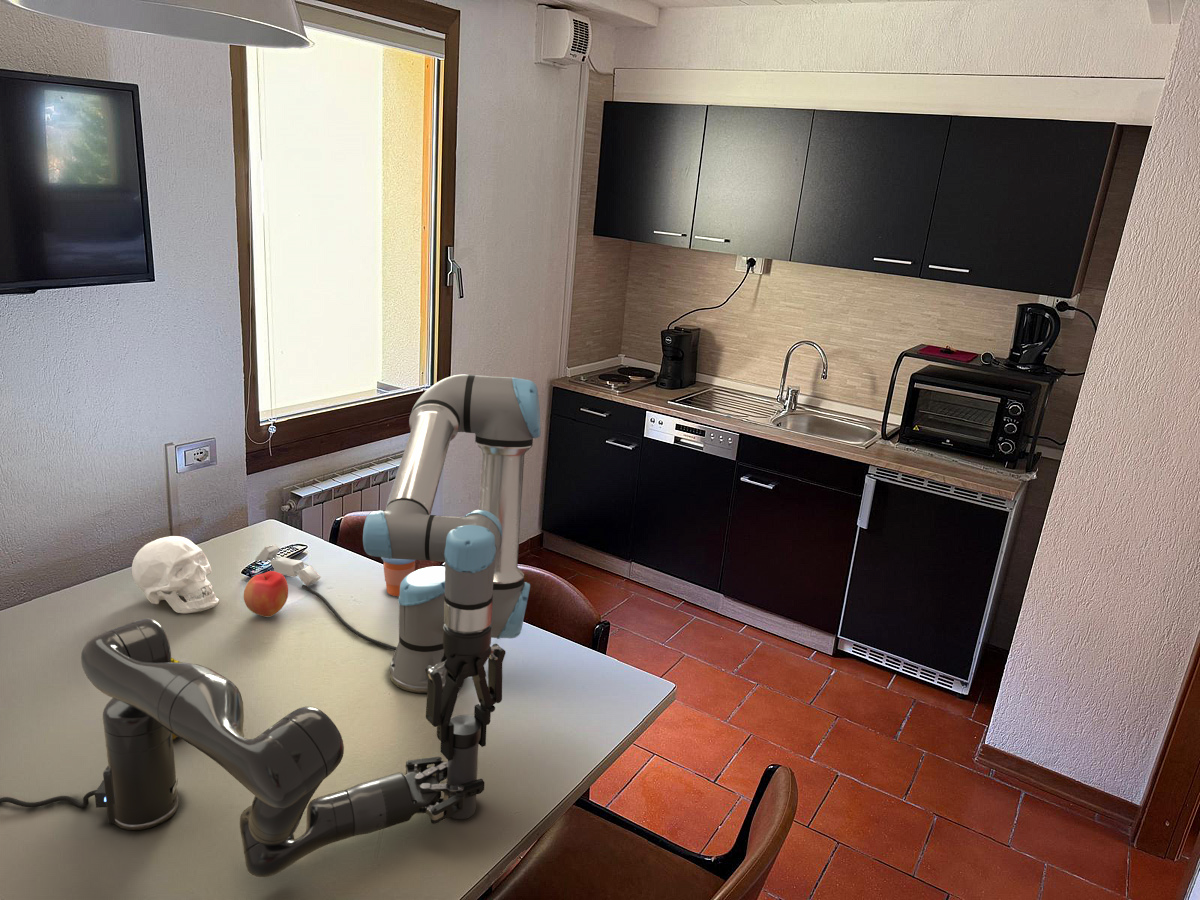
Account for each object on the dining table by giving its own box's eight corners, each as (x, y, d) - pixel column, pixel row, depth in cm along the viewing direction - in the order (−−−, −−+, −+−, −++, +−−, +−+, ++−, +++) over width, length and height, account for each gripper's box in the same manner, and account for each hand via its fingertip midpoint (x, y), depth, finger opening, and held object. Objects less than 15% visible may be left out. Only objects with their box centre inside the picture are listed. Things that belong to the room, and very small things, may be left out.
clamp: (253, 565, 223) (254, 542, 221) (265, 560, 226) (266, 537, 224) (309, 593, 215) (310, 569, 213) (320, 588, 218) (321, 564, 216)
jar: (481, 811, 144) (484, 731, 140) (456, 823, 141) (458, 741, 136) (465, 795, 148) (468, 716, 143) (440, 806, 145) (442, 726, 140)
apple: (273, 600, 207) (272, 562, 204) (297, 613, 202) (296, 575, 199) (237, 614, 200) (234, 575, 197) (261, 628, 194) (259, 588, 191)
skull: (197, 623, 194) (195, 558, 190) (119, 603, 200) (115, 540, 196) (237, 600, 207) (236, 539, 203) (163, 582, 212) (160, 522, 208)
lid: (463, 722, 144) (463, 710, 143) (487, 736, 141) (488, 723, 140) (439, 738, 139) (439, 725, 139) (463, 752, 136) (464, 739, 136)
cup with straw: (408, 601, 212) (409, 534, 207) (374, 595, 213) (374, 529, 208) (423, 586, 220) (424, 521, 215) (390, 580, 222) (390, 516, 217)
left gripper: (391, 813, 128) (495, 781, 137) (364, 757, 140) (461, 731, 149) (391, 854, 131) (493, 820, 139) (364, 796, 142) (460, 767, 151)
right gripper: (503, 599, 143) (498, 718, 149) (402, 628, 131) (401, 756, 138) (529, 618, 137) (522, 741, 144) (426, 650, 125) (423, 782, 132)
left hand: (476, 774), depth 144 cm, fingers closed on jar, 5 cm apart
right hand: (463, 748), depth 141 cm, fingers closed on lid, 5 cm apart
